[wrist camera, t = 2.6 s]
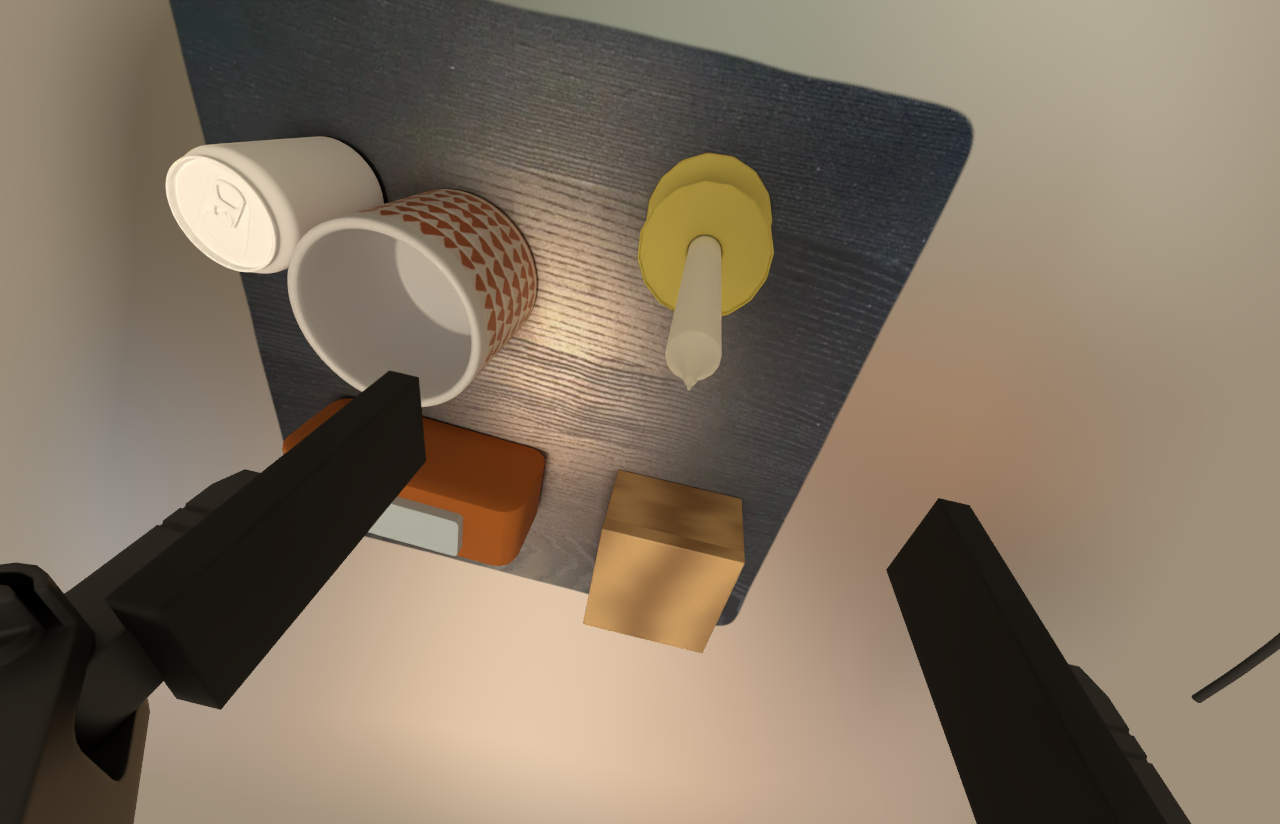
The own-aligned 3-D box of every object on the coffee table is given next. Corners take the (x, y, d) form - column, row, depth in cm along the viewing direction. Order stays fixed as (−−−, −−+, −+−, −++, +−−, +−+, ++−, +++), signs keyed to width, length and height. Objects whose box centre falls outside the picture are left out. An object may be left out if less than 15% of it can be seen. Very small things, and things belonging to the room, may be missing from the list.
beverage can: (287, 198, 42) (151, 227, 32) (310, 112, 38) (164, 114, 28) (371, 257, 44) (268, 302, 34) (402, 181, 40) (295, 207, 30)
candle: (707, 308, 42) (692, 540, 20) (621, 227, 39) (488, 388, 17) (799, 218, 37) (919, 391, 15) (708, 119, 35) (684, 146, 12)
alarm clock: (349, 449, 58) (276, 517, 48) (342, 392, 53) (259, 455, 44) (541, 503, 58) (506, 581, 49) (550, 451, 53) (513, 526, 44)
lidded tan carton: (741, 498, 53) (744, 563, 46) (704, 587, 62) (702, 653, 54) (618, 469, 53) (601, 529, 46) (599, 561, 62) (582, 624, 55)
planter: (462, 151, 38) (362, 169, 27) (569, 294, 43) (519, 355, 33) (362, 247, 44) (247, 292, 33) (467, 363, 49) (397, 435, 38)
